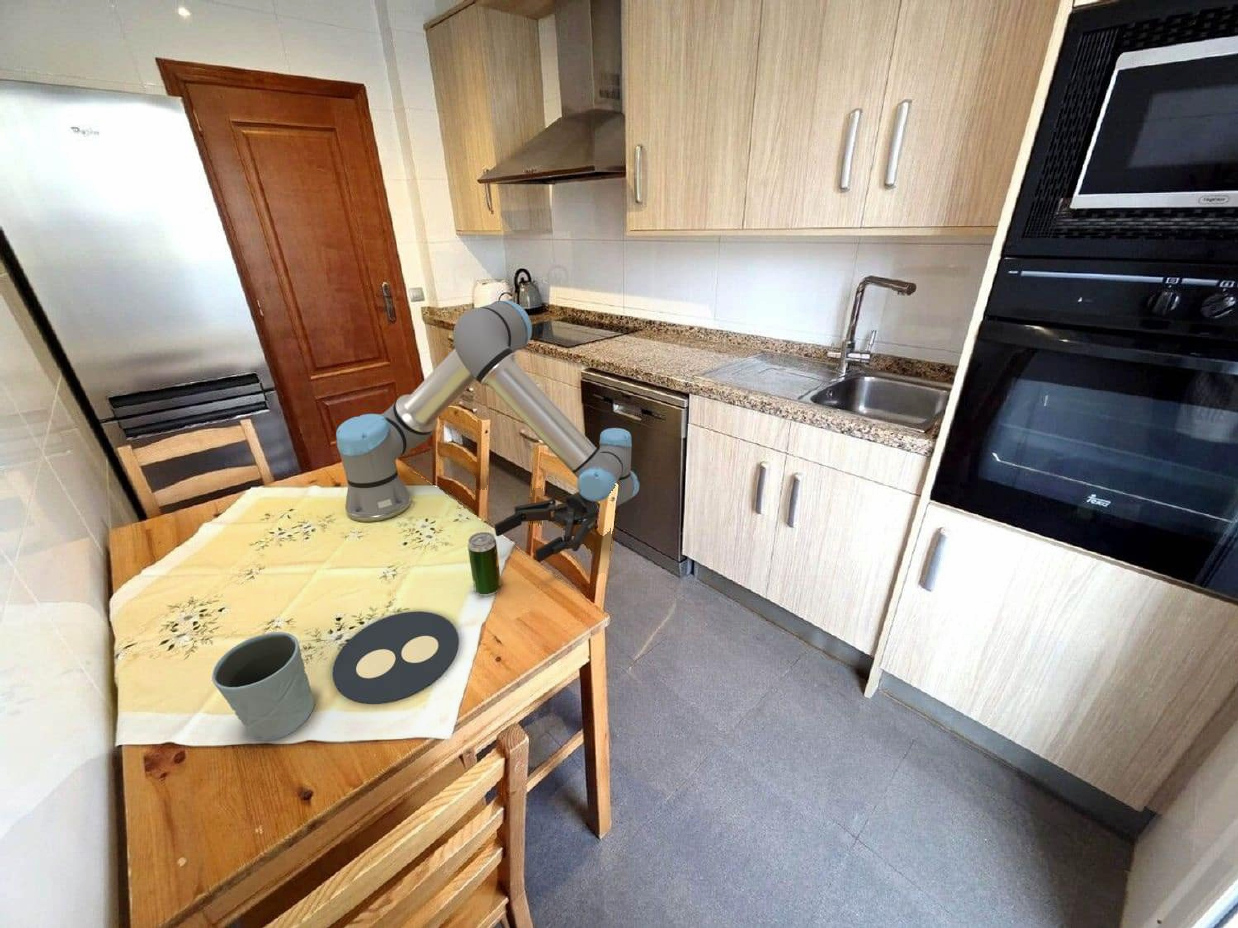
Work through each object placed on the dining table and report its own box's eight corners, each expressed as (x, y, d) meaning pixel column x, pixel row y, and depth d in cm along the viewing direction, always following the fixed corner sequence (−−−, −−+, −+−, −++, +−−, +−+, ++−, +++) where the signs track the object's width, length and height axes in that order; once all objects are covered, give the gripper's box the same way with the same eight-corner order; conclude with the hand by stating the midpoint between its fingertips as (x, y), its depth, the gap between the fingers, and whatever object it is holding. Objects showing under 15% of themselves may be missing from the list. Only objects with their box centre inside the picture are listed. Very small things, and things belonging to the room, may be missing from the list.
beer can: (479, 600, 99) (472, 550, 93) (470, 585, 103) (463, 536, 97) (505, 591, 101) (500, 541, 96) (495, 576, 105) (489, 528, 100)
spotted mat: (332, 634, 90) (332, 632, 90) (447, 600, 99) (446, 598, 98) (333, 723, 74) (332, 722, 74) (469, 674, 83) (469, 672, 82)
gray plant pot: (333, 701, 78) (314, 644, 72) (269, 759, 69) (242, 699, 64) (289, 679, 81) (267, 623, 76) (223, 731, 73) (194, 672, 68)
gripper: (627, 538, 113) (557, 583, 98) (553, 500, 127) (482, 535, 113) (628, 509, 109) (555, 552, 95) (551, 473, 124) (478, 506, 110)
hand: (515, 543), depth 104 cm, fingers open, 13 cm apart
